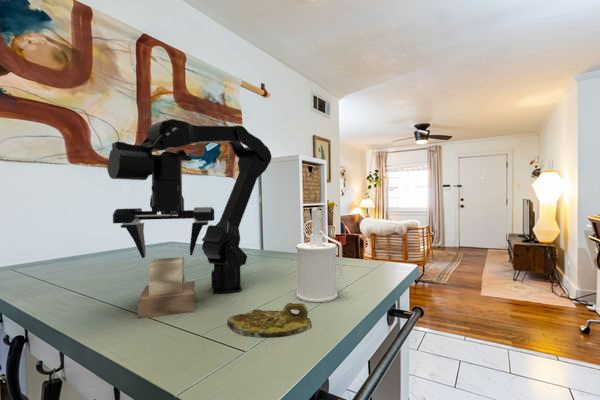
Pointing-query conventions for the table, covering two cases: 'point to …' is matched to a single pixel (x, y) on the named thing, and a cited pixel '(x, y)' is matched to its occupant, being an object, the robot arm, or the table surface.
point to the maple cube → (166, 276)
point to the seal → (272, 322)
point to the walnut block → (167, 302)
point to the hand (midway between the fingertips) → (167, 256)
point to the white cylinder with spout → (317, 264)
